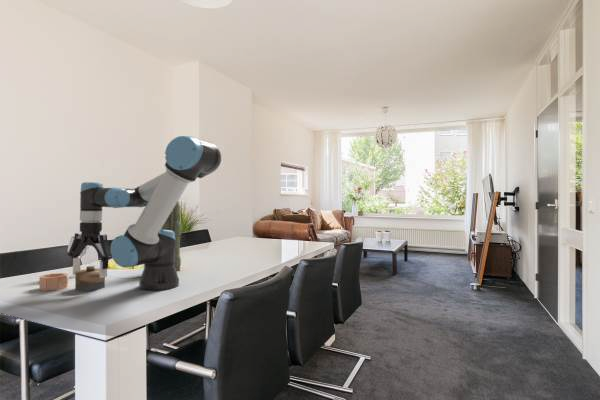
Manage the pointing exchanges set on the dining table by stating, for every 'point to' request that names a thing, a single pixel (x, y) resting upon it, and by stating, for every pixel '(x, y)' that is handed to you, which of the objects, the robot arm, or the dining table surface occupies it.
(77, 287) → the stand
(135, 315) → the dining table surface
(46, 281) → the bowl
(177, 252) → the thermos
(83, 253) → the wineglass
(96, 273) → the lid
